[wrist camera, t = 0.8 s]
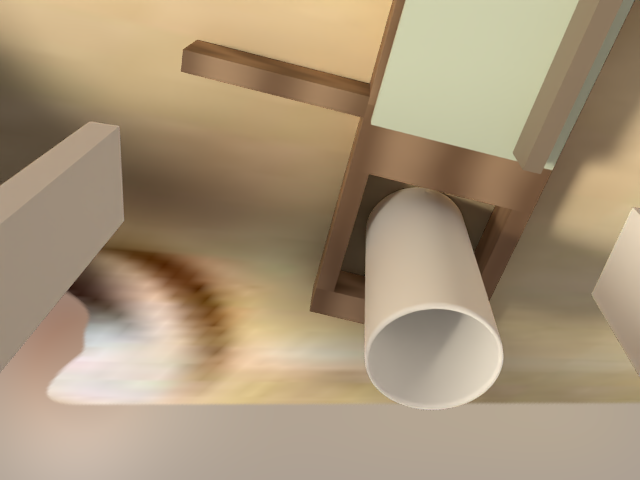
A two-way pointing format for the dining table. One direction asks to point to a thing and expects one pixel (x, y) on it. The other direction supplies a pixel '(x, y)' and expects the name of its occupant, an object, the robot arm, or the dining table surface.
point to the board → (383, 163)
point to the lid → (497, 73)
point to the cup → (426, 305)
